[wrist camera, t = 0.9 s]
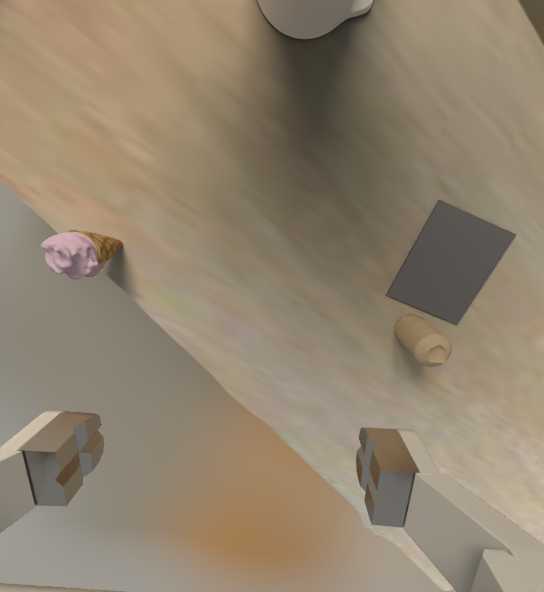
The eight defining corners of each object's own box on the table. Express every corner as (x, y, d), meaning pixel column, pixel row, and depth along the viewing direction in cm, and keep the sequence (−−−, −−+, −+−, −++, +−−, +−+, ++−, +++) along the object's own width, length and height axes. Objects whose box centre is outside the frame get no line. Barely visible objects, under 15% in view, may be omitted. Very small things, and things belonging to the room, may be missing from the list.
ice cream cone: (145, 242, 50) (88, 255, 35) (129, 271, 51) (68, 295, 37) (110, 219, 49) (37, 223, 34) (95, 249, 50) (19, 265, 36)
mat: (438, 200, 46) (439, 200, 45) (514, 234, 47) (516, 234, 46) (386, 294, 50) (386, 295, 50) (456, 324, 52) (457, 324, 51)
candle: (431, 329, 52) (465, 356, 42) (406, 348, 53) (433, 378, 44) (412, 308, 51) (442, 331, 41) (387, 328, 52) (411, 355, 43)
